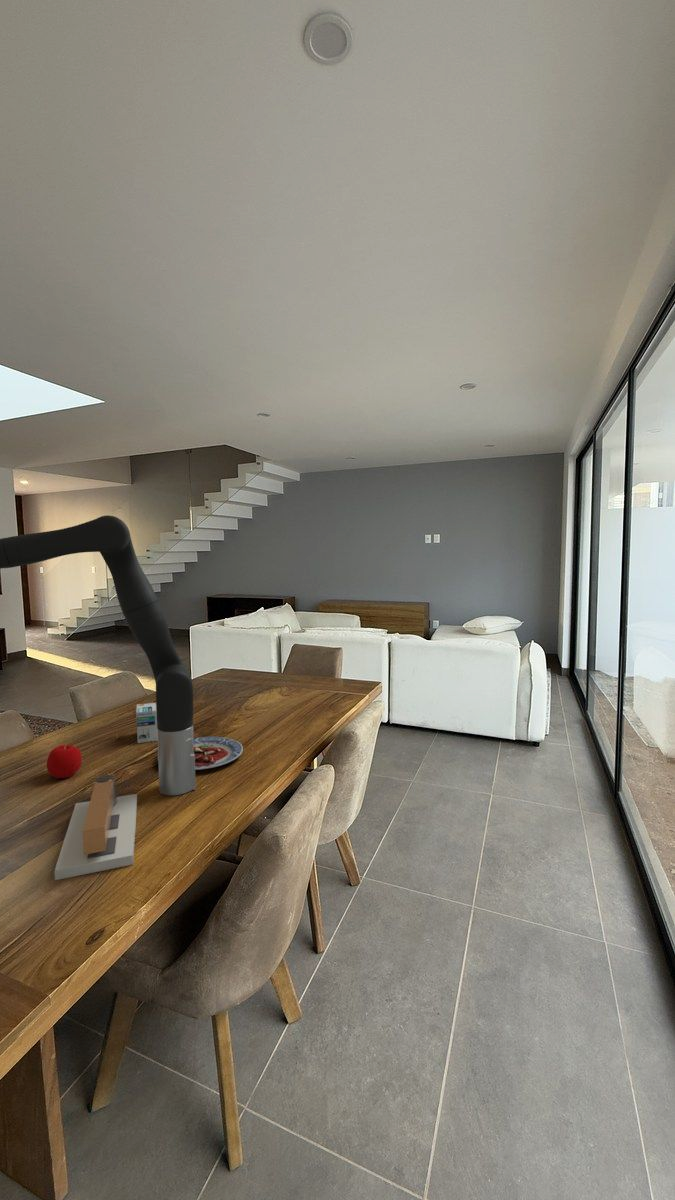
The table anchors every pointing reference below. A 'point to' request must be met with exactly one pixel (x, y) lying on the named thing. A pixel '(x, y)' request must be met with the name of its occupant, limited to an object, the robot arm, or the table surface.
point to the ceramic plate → (215, 751)
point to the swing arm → (99, 815)
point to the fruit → (64, 761)
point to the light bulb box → (146, 722)
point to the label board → (117, 843)
